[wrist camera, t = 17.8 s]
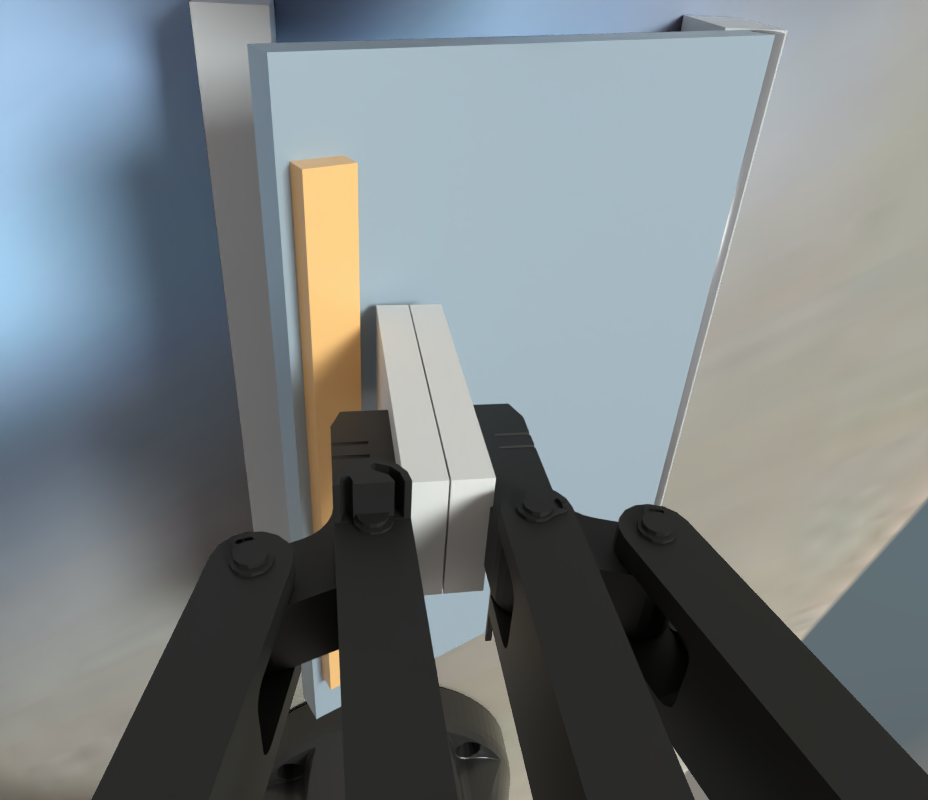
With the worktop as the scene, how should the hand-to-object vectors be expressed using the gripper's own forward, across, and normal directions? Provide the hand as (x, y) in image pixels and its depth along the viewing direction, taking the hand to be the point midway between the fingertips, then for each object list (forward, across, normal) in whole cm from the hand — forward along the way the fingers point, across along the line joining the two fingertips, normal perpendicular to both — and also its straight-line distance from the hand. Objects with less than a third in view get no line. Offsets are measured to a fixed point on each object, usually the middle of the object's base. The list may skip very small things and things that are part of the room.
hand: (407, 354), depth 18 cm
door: (+4, -4, +3) cm, 6 cm away
